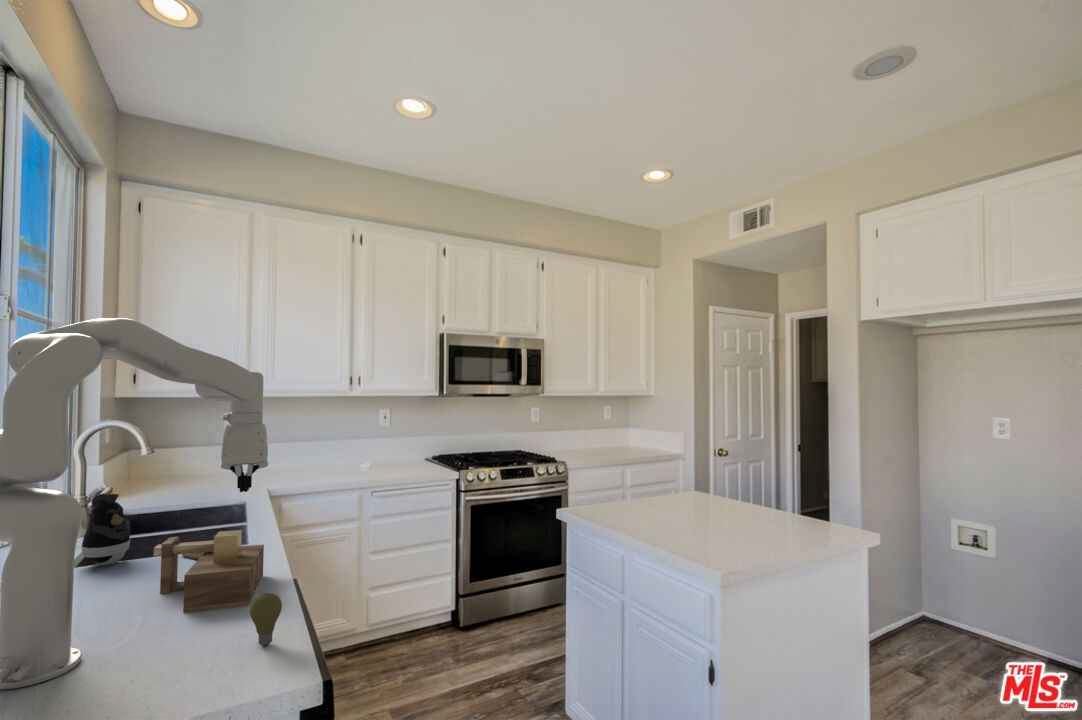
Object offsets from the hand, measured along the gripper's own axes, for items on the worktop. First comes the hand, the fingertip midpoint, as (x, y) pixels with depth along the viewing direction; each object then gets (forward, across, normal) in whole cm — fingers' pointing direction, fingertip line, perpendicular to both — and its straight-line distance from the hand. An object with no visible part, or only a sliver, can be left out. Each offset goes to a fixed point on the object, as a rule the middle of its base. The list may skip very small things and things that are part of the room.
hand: (244, 490), depth 141 cm
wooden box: (+23, -6, -7) cm, 25 cm away
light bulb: (+23, +11, -39) cm, 47 cm away
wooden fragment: (+24, -16, +31) cm, 42 cm away
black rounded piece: (+23, -38, +25) cm, 51 cm away
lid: (+16, -2, -7) cm, 18 cm away
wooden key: (+14, -12, 0) cm, 19 cm away
